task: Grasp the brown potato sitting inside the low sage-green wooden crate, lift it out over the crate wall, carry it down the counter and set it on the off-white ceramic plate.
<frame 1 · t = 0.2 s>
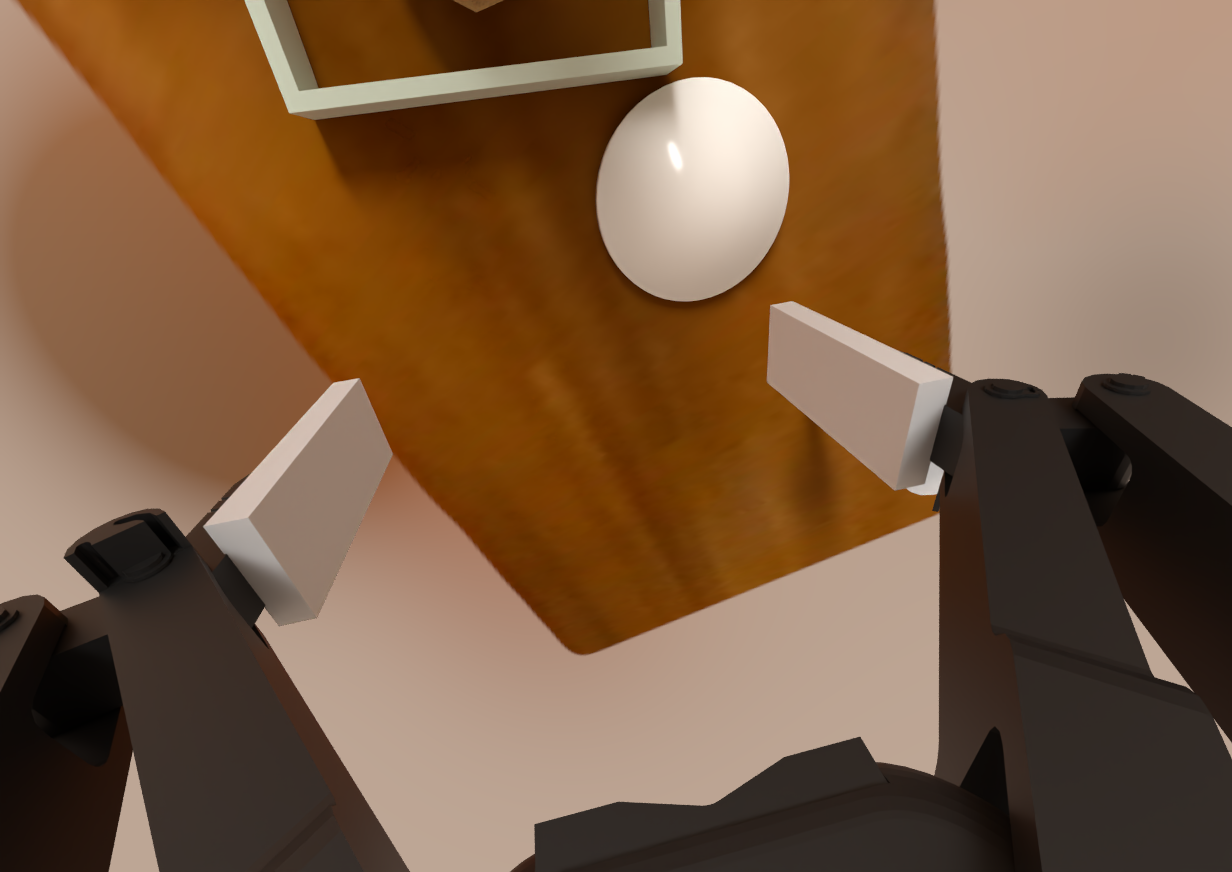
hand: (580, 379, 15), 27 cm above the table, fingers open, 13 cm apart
plate: (690, 200, 38), on the table
chalice: (807, 364, 48), on the table
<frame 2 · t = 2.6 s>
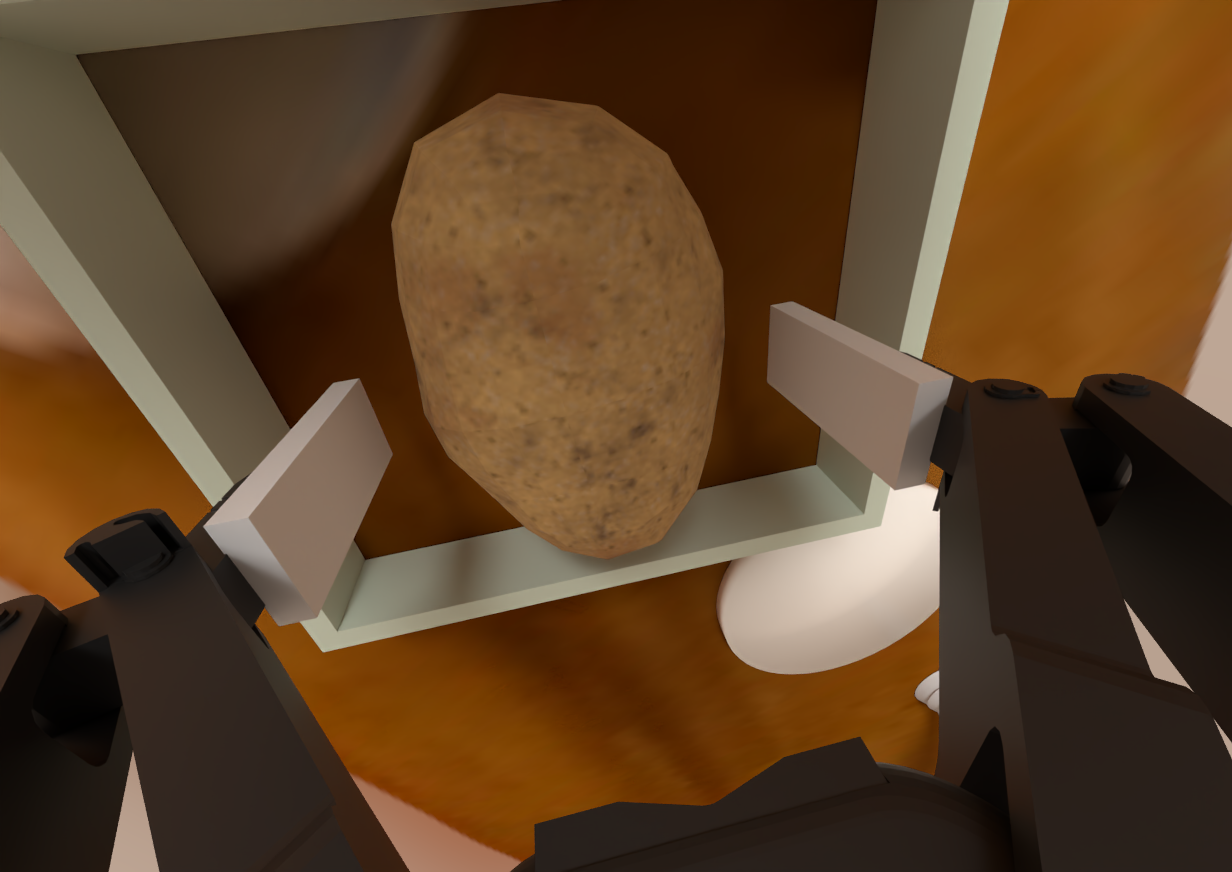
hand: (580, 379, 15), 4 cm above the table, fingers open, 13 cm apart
plate: (837, 578, 29), on the table
crate: (567, 327, 18), on the table
potato: (566, 325, 18), resting in crate
chalice: (941, 681, 40), on the table
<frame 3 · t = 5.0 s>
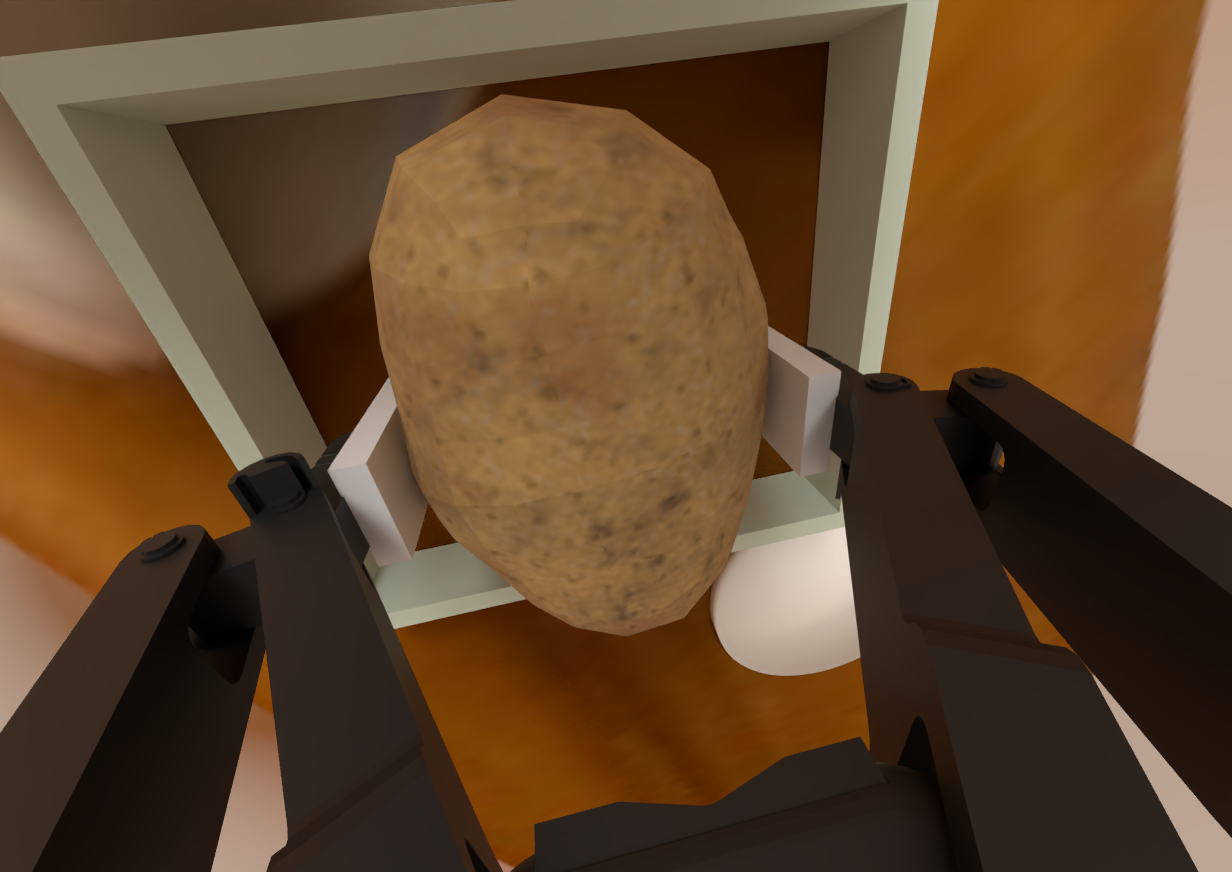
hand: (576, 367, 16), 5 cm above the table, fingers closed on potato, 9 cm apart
plate: (824, 580, 31), on the table
crate: (567, 344, 21), on the table
potato: (577, 358, 16), point 4 cm above the table, touching gripper
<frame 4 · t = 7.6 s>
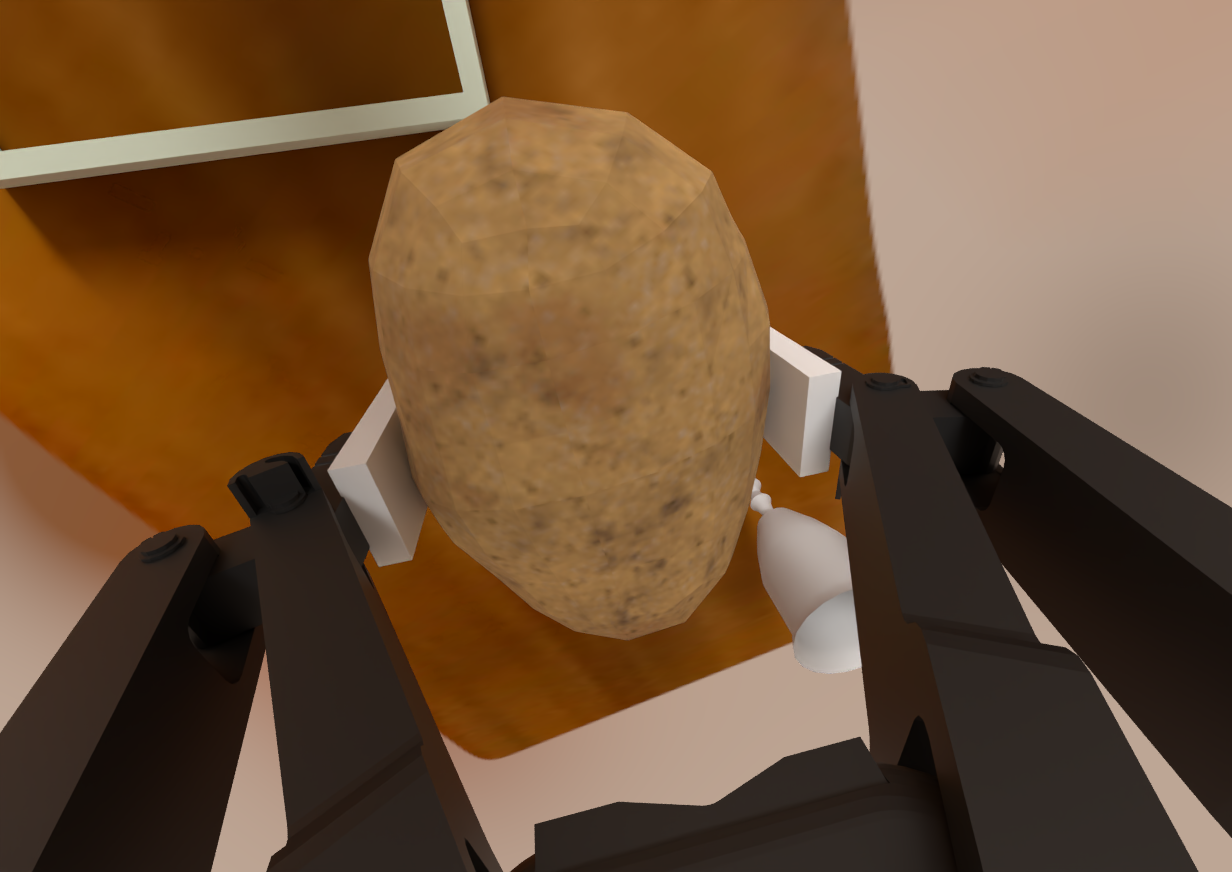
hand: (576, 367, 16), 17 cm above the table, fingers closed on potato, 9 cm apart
potato: (578, 360, 16), point 16 cm above the table, touching gripper
chalice: (725, 453, 40), on the table
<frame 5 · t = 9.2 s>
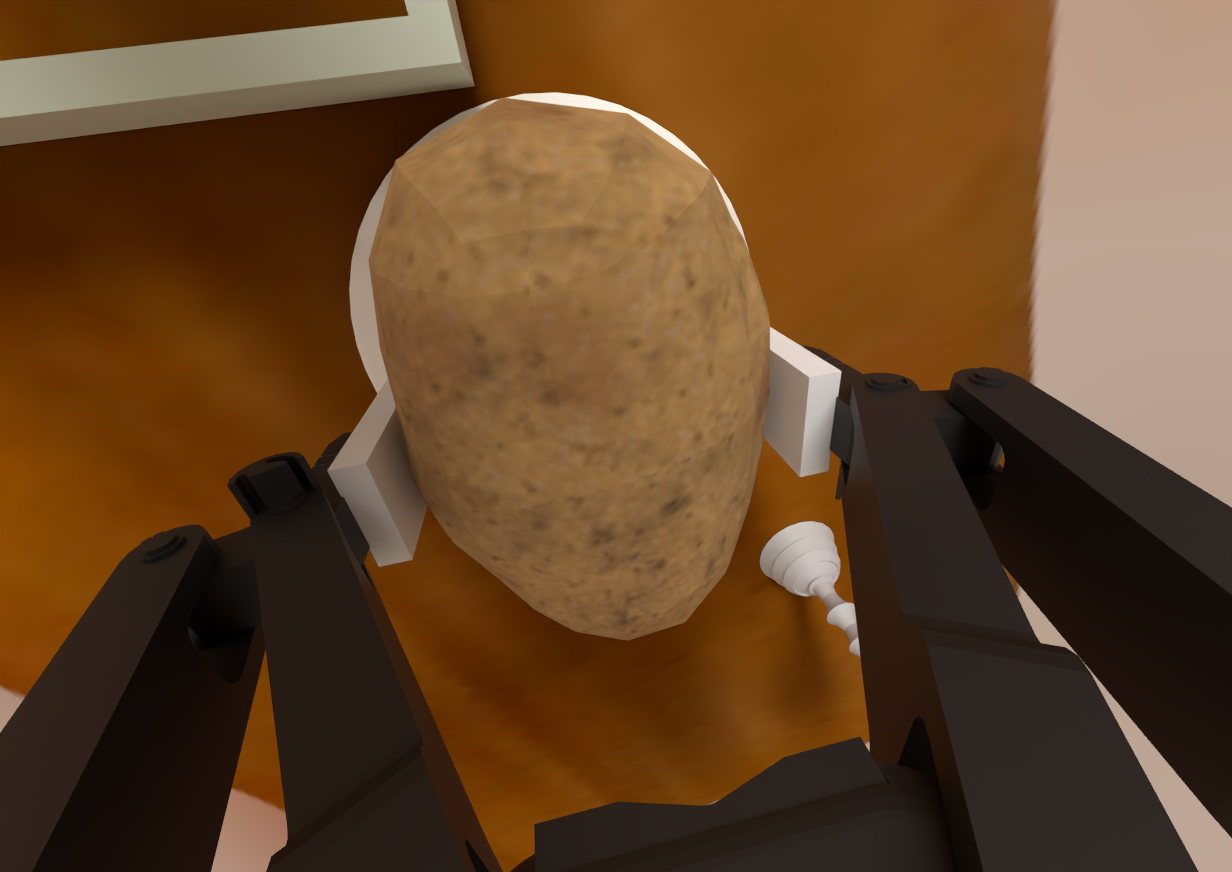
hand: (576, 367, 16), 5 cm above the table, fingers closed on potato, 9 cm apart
plate: (564, 326, 20), on the table
potato: (578, 361, 16), point 4 cm above the table, touching gripper
chalice: (795, 550, 30), on the table
when the fingers open (3 cm above the table, at t = 10.5 s): potato drops 2 cm, resting on plate.
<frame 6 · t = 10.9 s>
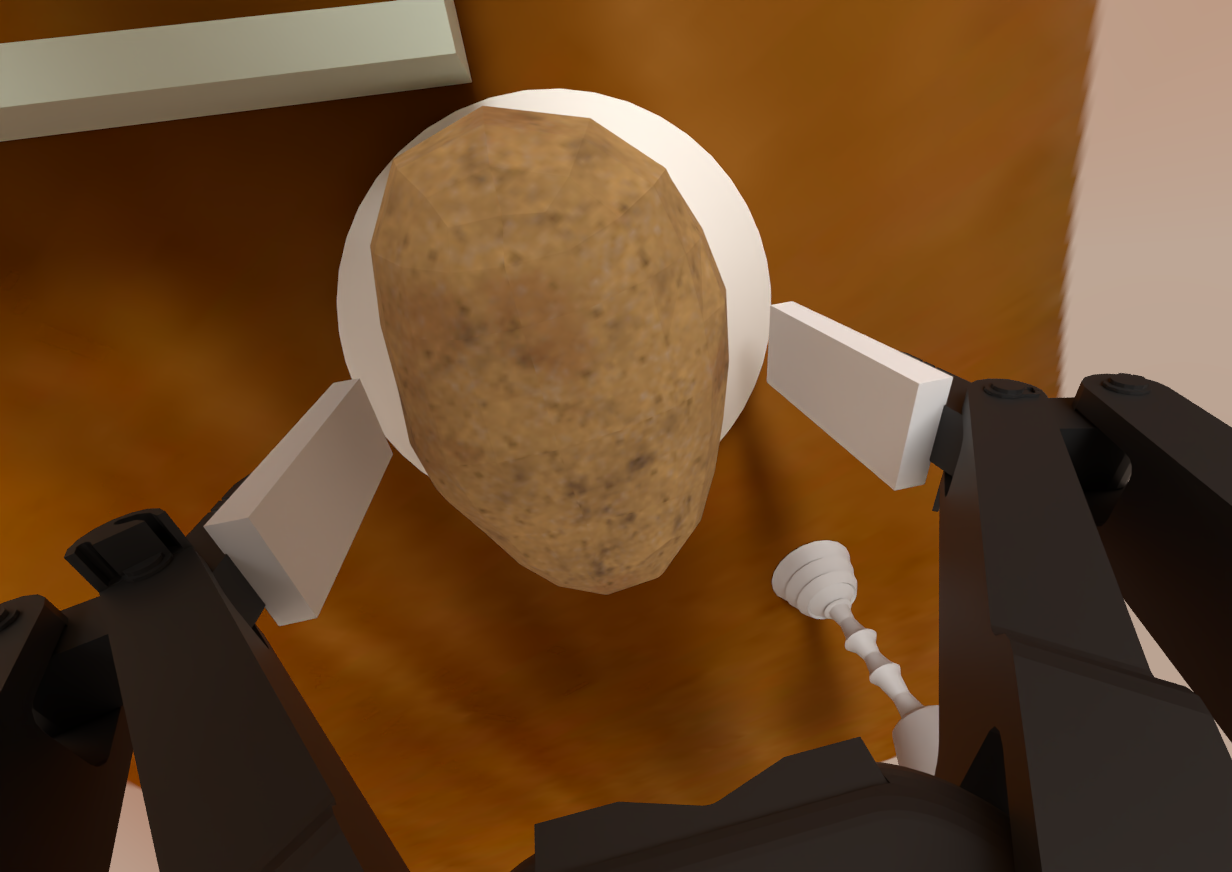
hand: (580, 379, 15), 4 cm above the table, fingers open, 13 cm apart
plate: (568, 339, 19), on the table
potato: (563, 345, 18), point 1 cm above the table, touching plate
chalice: (809, 569, 28), on the table
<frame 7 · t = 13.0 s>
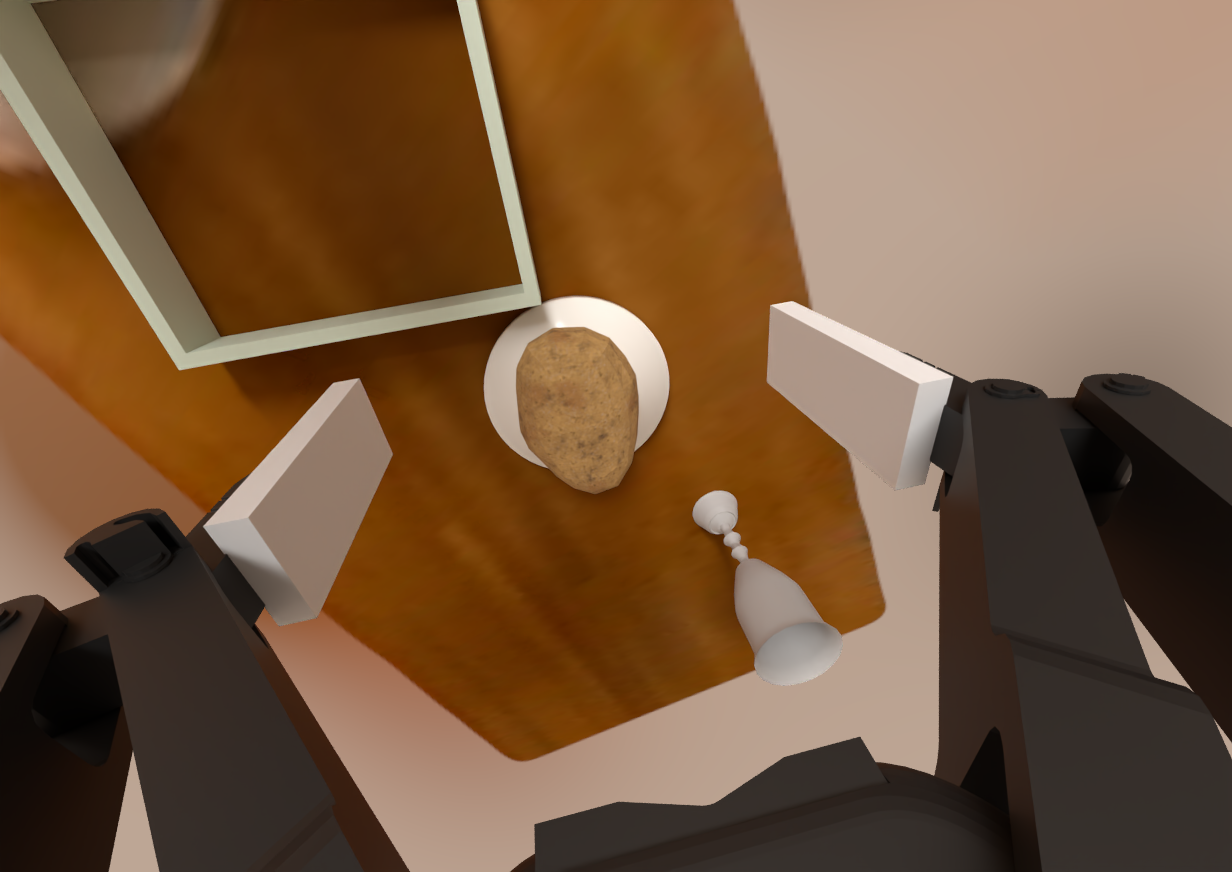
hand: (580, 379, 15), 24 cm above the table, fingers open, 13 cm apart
plate: (578, 387, 41), on the table
crate: (321, 167, 31), on the table
potato: (575, 391, 40), point 1 cm above the table, touching plate
chalice: (714, 509, 50), on the table
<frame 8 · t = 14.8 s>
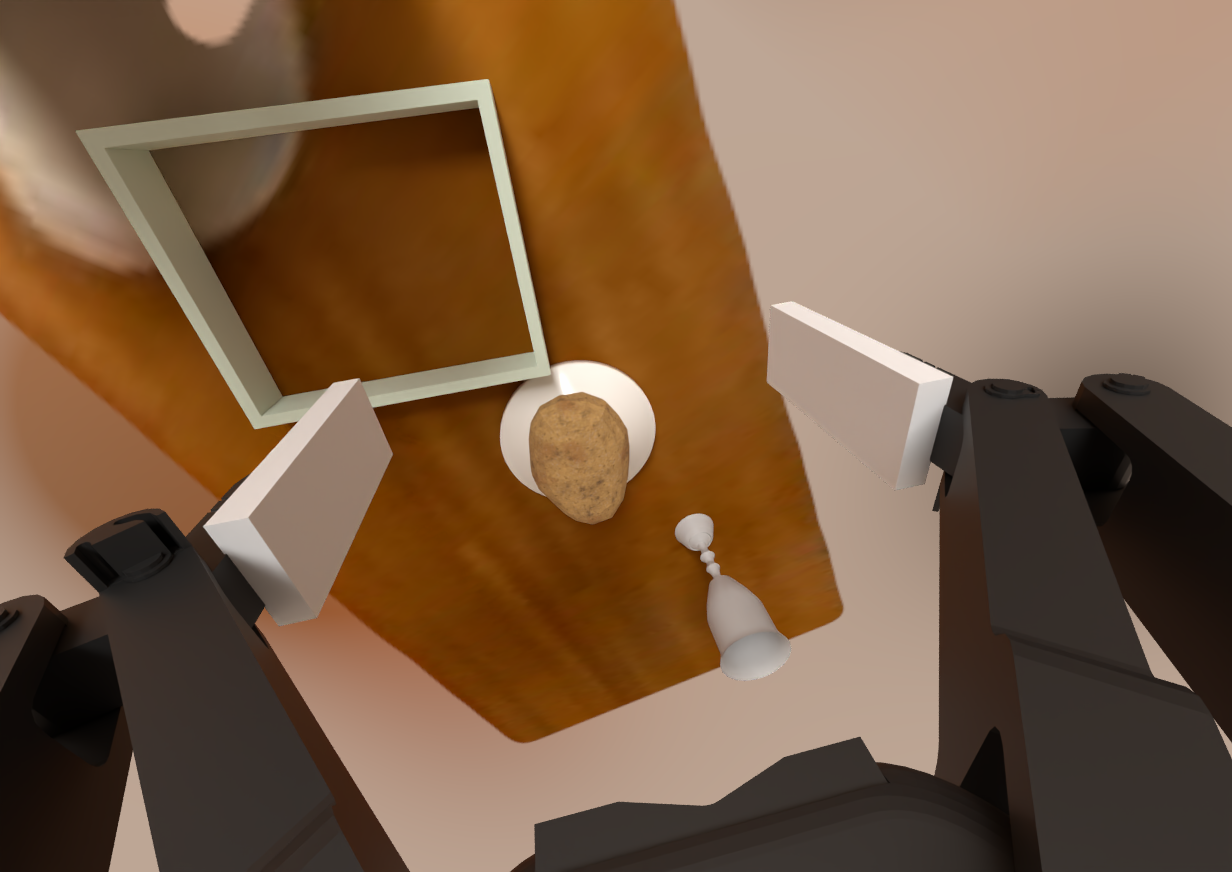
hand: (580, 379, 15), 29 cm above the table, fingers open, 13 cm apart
plate: (578, 432, 49), on the table
crate: (372, 266, 38), on the table
potato: (576, 436, 48), point 1 cm above the table, touching plate
chalice: (693, 528, 59), on the table
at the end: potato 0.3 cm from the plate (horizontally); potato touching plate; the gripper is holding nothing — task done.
